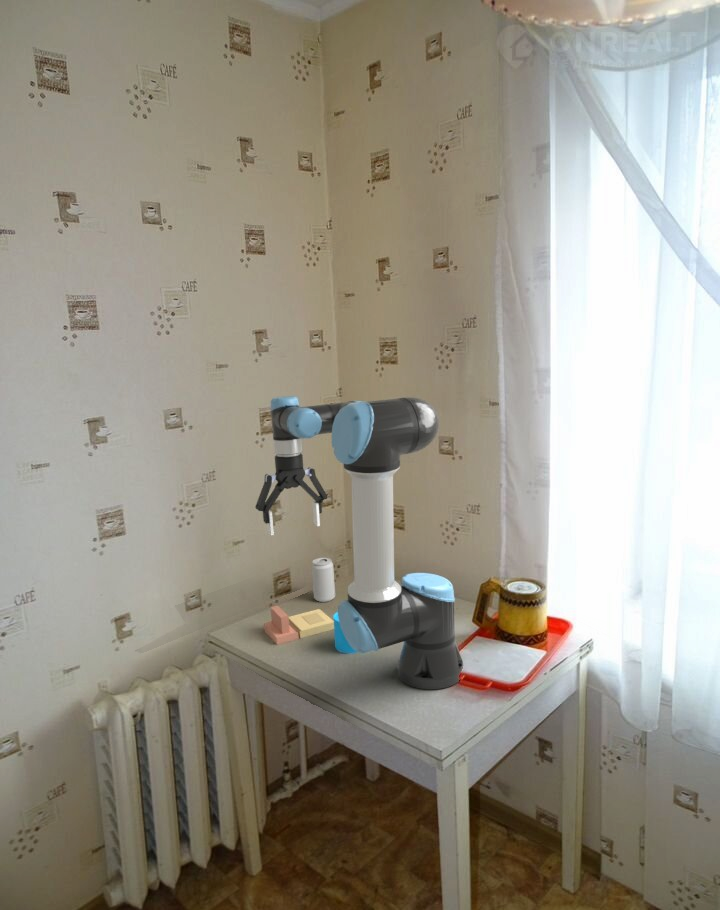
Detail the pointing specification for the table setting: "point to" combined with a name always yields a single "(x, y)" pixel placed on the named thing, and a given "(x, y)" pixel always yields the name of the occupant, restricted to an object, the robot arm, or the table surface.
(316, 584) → the beverage can
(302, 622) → the tan flat square block
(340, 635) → the mug
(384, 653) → the table surface
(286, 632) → the pink stepped block
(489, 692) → the table surface
